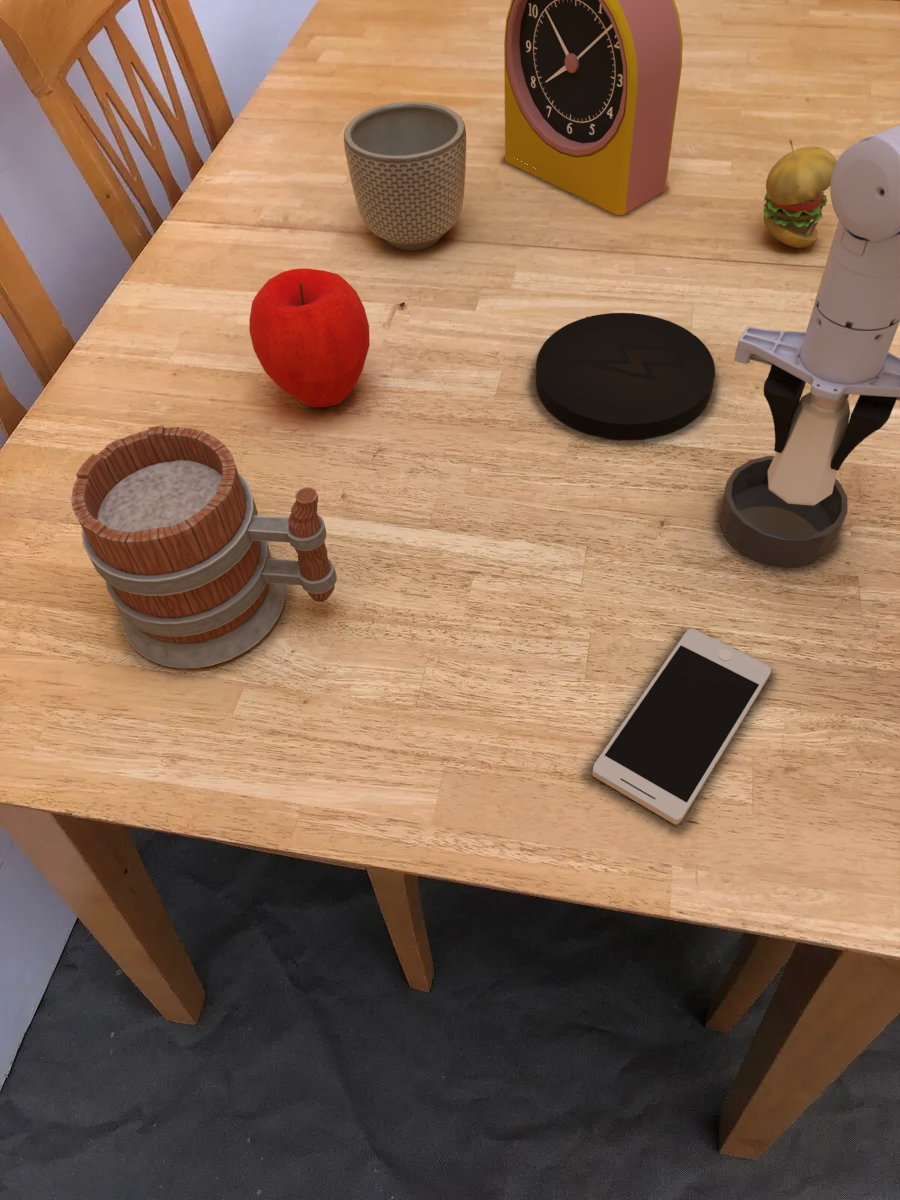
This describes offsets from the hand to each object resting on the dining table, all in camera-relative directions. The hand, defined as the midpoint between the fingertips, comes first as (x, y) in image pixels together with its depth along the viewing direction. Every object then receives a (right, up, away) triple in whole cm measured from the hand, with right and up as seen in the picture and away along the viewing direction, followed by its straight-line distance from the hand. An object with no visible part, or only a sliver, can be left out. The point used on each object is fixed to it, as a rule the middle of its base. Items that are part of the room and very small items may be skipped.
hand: (808, 453), depth 74 cm
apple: (-42, +9, +22) cm, 48 cm away
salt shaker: (0, -2, +3) cm, 4 cm away
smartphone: (-11, -21, -4) cm, 24 cm away
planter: (-33, +33, +40) cm, 62 cm away
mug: (-47, -12, +5) cm, 49 cm away
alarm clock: (-11, +44, +47) cm, 65 cm away
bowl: (0, -5, +8) cm, 9 cm away
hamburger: (+11, +30, +35) cm, 48 cm away
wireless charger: (-11, +11, +21) cm, 26 cm away
